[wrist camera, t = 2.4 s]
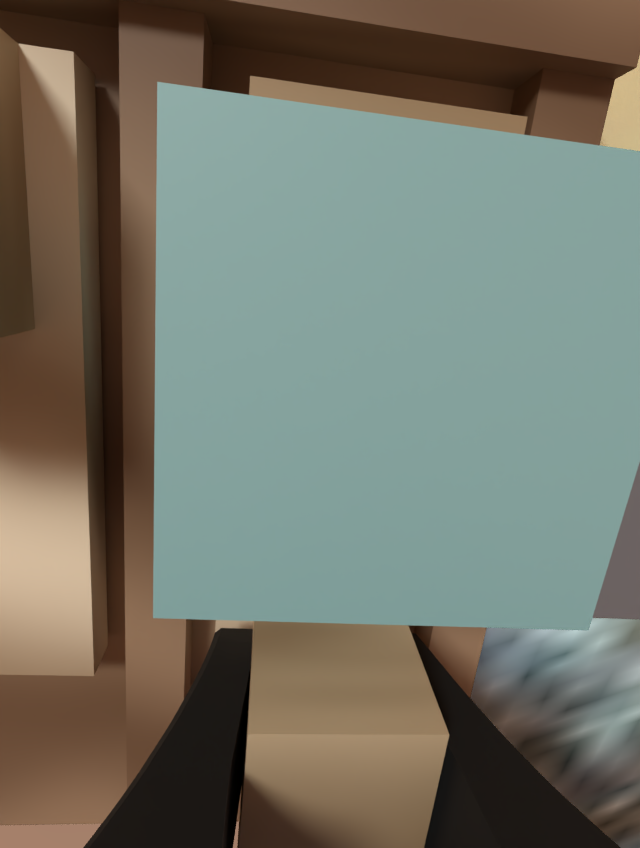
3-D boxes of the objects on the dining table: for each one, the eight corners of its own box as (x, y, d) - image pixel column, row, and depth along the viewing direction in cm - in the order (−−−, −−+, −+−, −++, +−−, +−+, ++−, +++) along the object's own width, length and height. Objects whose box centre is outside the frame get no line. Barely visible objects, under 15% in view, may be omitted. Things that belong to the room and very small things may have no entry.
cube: (449, 469, 10) (589, 630, 5) (210, 454, 9) (152, 618, 5) (496, 217, 8) (730, 164, 4) (221, 183, 8) (157, 81, 4)
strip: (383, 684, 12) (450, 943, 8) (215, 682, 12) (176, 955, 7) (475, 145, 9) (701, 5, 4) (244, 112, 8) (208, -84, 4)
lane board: (412, 783, 15) (438, 881, 12) (-102, 787, 13) (-184, 900, 11) (561, 56, 10) (655, -14, 7) (-261, -78, 8) (-487, -225, 6)
